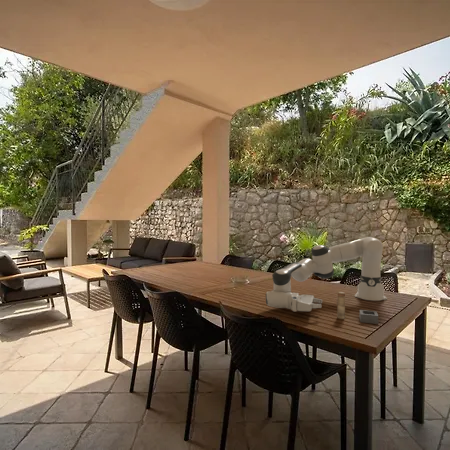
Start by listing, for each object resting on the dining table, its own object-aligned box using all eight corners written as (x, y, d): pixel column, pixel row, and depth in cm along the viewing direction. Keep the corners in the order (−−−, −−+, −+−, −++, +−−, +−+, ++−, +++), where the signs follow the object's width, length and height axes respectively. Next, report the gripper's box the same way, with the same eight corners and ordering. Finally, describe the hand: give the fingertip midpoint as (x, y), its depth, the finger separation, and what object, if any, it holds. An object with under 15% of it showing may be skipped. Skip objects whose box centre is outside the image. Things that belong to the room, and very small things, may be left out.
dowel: (337, 316, 168) (337, 291, 168) (344, 317, 167) (345, 292, 167) (337, 318, 165) (337, 293, 165) (344, 319, 164) (345, 293, 163)
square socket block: (359, 317, 167) (359, 309, 167) (376, 318, 164) (376, 311, 164) (360, 322, 159) (360, 314, 159) (378, 324, 157) (378, 315, 157)
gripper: (297, 301, 183) (322, 304, 178) (292, 312, 164) (320, 315, 159) (297, 290, 183) (322, 293, 178) (292, 300, 163) (321, 302, 159)
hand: (321, 303), depth 169 cm, fingers open, 8 cm apart
